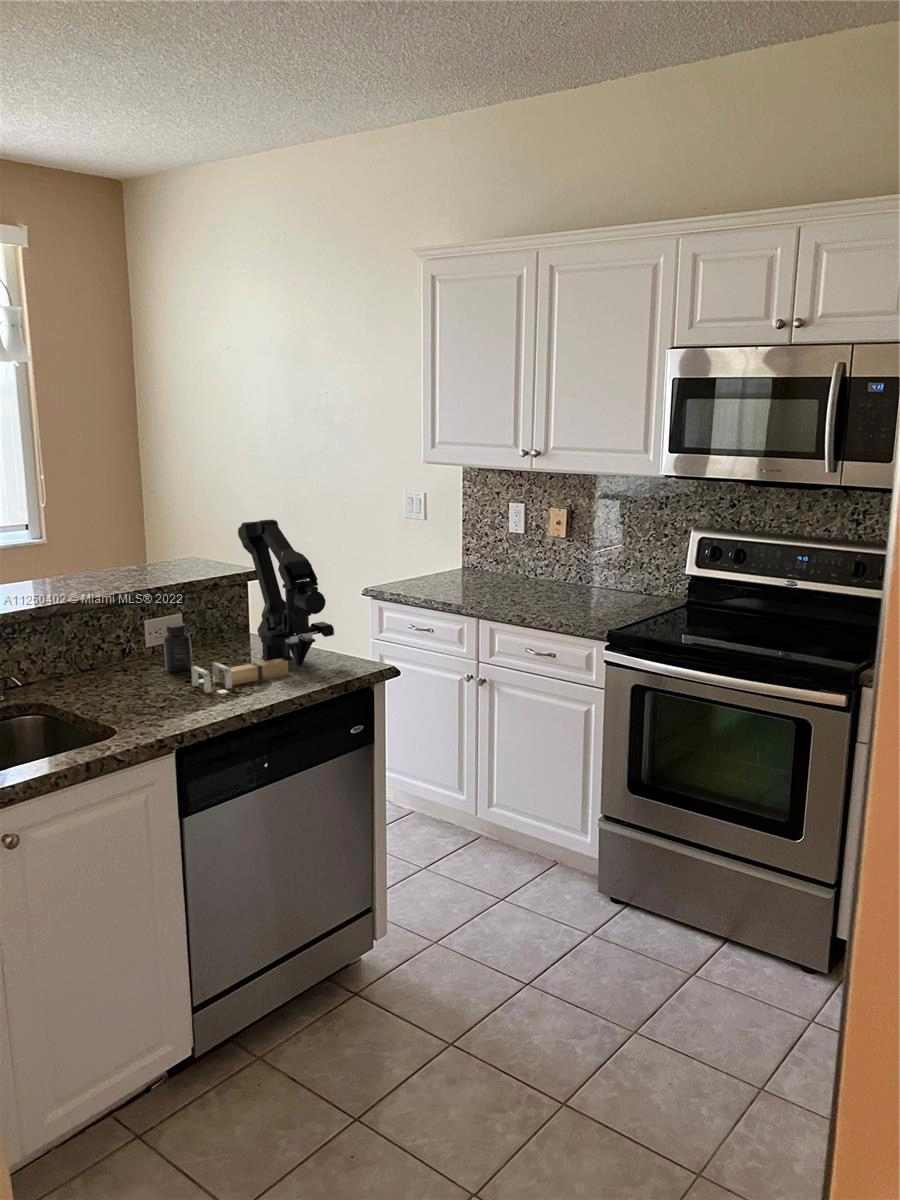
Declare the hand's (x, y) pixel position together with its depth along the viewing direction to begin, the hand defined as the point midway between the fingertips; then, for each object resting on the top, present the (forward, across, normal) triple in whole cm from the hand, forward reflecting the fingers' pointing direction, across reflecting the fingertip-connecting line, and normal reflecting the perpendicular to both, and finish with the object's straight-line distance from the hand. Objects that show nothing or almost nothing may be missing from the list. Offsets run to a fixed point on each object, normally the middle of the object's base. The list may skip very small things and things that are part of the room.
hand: (299, 665), depth 250 cm
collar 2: (+1, +22, 0) cm, 22 cm away
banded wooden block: (+1, +12, 0) cm, 12 cm away
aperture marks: (+1, +24, 0) cm, 25 cm away
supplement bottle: (+1, +24, -20) cm, 31 cm away
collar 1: (+1, +27, 0) cm, 27 cm away
